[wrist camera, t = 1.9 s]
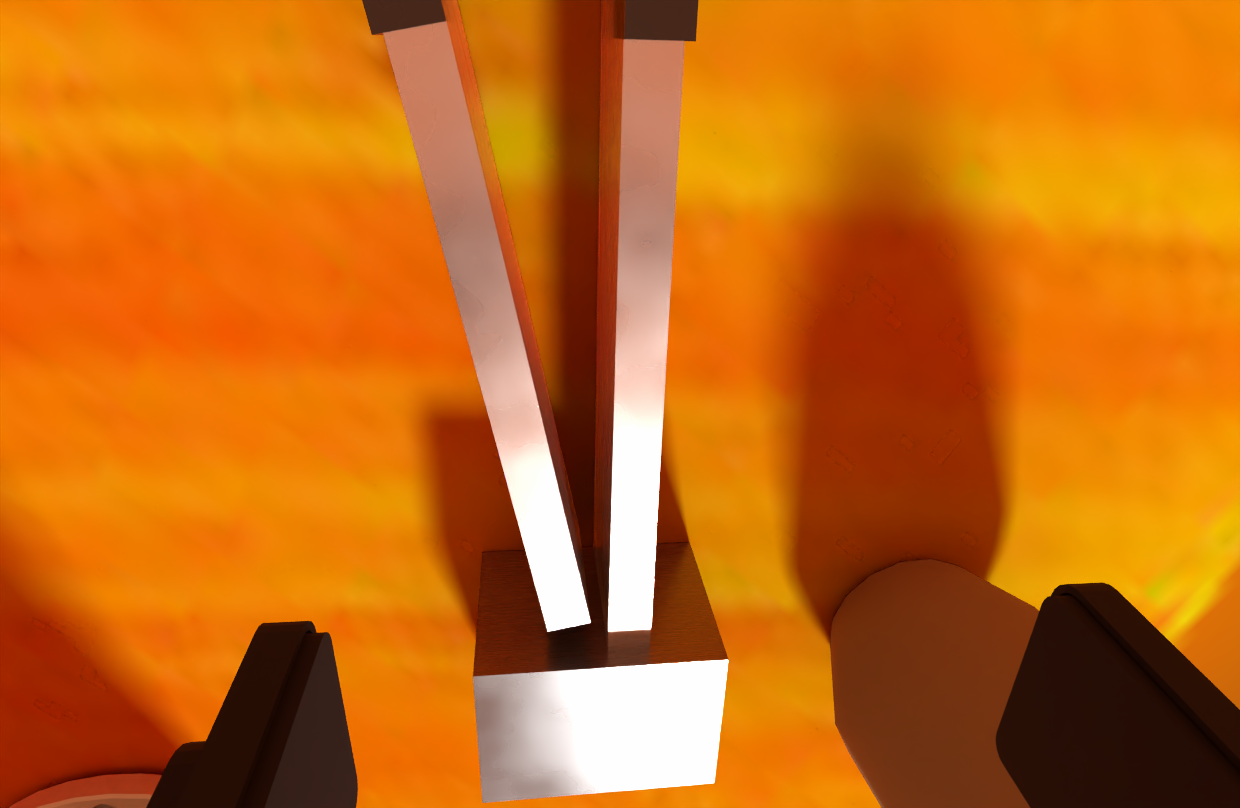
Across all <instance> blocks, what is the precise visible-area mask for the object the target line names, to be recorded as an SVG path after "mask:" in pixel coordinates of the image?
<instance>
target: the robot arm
mask: <svg viewBox="0 0 1240 808" xmlns="http://www.w3.org/2000/svg"><path fill="white" fill-rule="evenodd" d="M996 748H997V752H998V755H999V758H1000V760H1001V762H1002V764H1003V765H1004V767H1005V769H1006V770H1007V772H1008V773H1009V775H1010V776H1011V778H1012V780H1013V781H1014V783H1015V784H1016V786H1017V787H1018V789H1019V791H1020V792H1021V794H1022V795H1023V797H1024V799H1025V800H1026V802H1027V803H1028V805H1029V806H1030V808H1240V710H1239V709H1238V708H1237V707H1236V706H1235V705H1234V704H1233V703H1232V702H1231V701H1230V700H1229V699H1228V698H1227V697H1226V696H1225V695H1224V694H1223V693H1222V692H1221V691H1220V690H1219V689H1218V688H1217V687H1215V685H1214V684H1213V683H1212V682H1211V681H1210V680H1208V678H1207V677H1205V676H1204V675H1203V674H1202V673H1201V672H1200V671H1199V670H1198V669H1197V668H1196V667H1195V666H1194V665H1193V664H1192V663H1191V662H1190V661H1189V660H1188V659H1187V658H1186V657H1185V656H1184V655H1183V654H1182V653H1181V652H1180V651H1179V650H1178V649H1177V648H1176V647H1175V646H1174V645H1173V644H1172V643H1171V642H1170V641H1169V640H1168V639H1166V638H1165V637H1164V636H1163V635H1162V634H1161V633H1160V632H1159V631H1158V630H1157V629H1156V628H1155V627H1154V626H1153V625H1152V624H1151V623H1150V622H1149V621H1148V620H1147V619H1146V618H1145V617H1144V616H1143V615H1142V614H1141V613H1140V612H1139V611H1138V610H1137V609H1136V608H1135V607H1134V606H1133V605H1132V604H1131V603H1130V602H1129V601H1128V600H1126V599H1125V598H1124V597H1123V596H1122V595H1121V594H1120V593H1119V592H1118V591H1117V590H1116V589H1115V588H1113V587H1112V586H1111V585H1109V584H1105V583H1085V584H1065V585H1059V586H1058V587H1057V588H1056V589H1054V591H1053V593H1052V595H1051V596H1049V597H1047V598H1046V599H1045V600H1044V601H1043V603H1042V605H1041V608H1040V611H1039V614H1038V617H1037V619H1036V622H1035V625H1034V628H1033V631H1032V634H1031V636H1030V639H1029V642H1028V645H1027V648H1026V650H1025V653H1024V656H1023V659H1022V662H1021V665H1020V667H1019V670H1018V673H1017V676H1016V679H1015V682H1014V684H1013V687H1012V690H1011V693H1010V696H1009V698H1008V701H1007V704H1006V707H1005V710H1004V713H1003V715H1002V718H1001V721H1000V724H999V727H998V729H997V733H996ZM357 791H358V784H357V775H356V769H355V764H354V758H353V753H352V748H351V742H350V737H349V732H348V726H347V721H346V715H345V710H344V705H343V699H342V694H341V688H340V683H339V678H338V672H337V667H336V661H335V656H334V651H333V645H332V640H331V637H330V634H329V633H327V632H324V633H316V629H315V626H314V624H313V623H312V622H311V621H299V622H279V623H263V624H261V625H260V626H259V627H258V629H257V630H256V632H255V634H254V636H253V638H252V641H251V643H250V645H249V647H248V650H247V652H246V654H245V656H244V658H243V661H242V663H241V665H240V667H239V669H238V672H237V674H236V676H235V678H234V681H233V683H232V685H231V687H230V689H229V692H228V694H227V696H226V698H225V700H224V703H223V705H222V707H221V709H220V711H219V714H218V716H217V718H216V720H215V723H214V725H213V727H212V729H211V731H210V734H209V736H208V738H207V740H206V741H201V742H190V743H185V744H183V745H182V746H181V747H180V748H178V749H177V750H176V751H175V753H174V754H173V756H172V758H171V759H170V761H169V762H168V764H167V766H166V768H165V770H164V772H163V774H162V775H157V774H144V773H134V774H112V775H101V776H95V777H90V778H84V779H78V780H73V781H68V782H65V783H62V784H59V785H56V786H53V787H50V788H47V789H44V790H41V791H38V792H36V793H34V794H32V795H30V796H28V797H26V798H24V799H22V800H21V801H19V802H17V803H15V804H13V805H11V806H10V807H9V808H356V803H357Z"/></svg>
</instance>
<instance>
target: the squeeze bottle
mask: <svg viewBox="0 0 1240 808" xmlns="http://www.w3.org/2000/svg"><path fill="white" fill-rule="evenodd" d="M1038 614H1039V611H1038V610H1037V609H1036V608H1035V607H1033V606H1032V605H1030V604H1028V603H1026V602H1024V601H1022V600H1020V599H1018V598H1017V597H1015V596H1013V595H1011V594H1009V593H1007V592H1005V591H1004V590H1002V589H1000V588H998V587H996V586H994V585H992V584H991V583H989V582H987V581H985V580H983V579H981V578H979V577H978V576H976V575H974V574H972V573H970V572H968V571H966V570H965V569H963V568H961V567H959V566H957V565H953V564H949V563H945V562H941V561H938V560H934V559H925V560H916V561H906V562H900V563H897V564H895V565H893V566H890V567H888V568H886V569H883V570H881V571H879V572H876V573H874V574H872V575H870V576H869V577H868V578H867V579H865V580H864V581H863V582H862V583H861V584H859V585H858V586H857V587H856V588H855V589H854V590H852V591H851V592H850V593H849V594H848V595H847V596H846V597H845V599H844V601H843V602H842V604H841V606H840V607H839V609H838V611H837V613H836V614H835V616H834V618H833V620H832V629H831V639H830V650H831V665H832V680H833V696H834V711H835V724H836V726H837V728H838V730H839V733H840V735H841V737H842V739H843V741H844V743H845V745H846V747H847V749H848V752H849V753H850V755H851V757H852V758H853V760H854V762H855V763H856V765H857V767H858V768H859V770H860V772H861V774H862V775H863V777H864V779H865V780H866V782H867V784H868V785H869V787H870V789H871V790H872V792H873V794H874V795H875V797H876V799H877V801H878V802H879V804H880V806H881V807H882V808H1030V806H1029V805H1028V803H1027V802H1026V800H1025V799H1024V797H1023V795H1022V794H1021V792H1020V791H1019V789H1018V787H1017V786H1016V784H1015V783H1014V781H1013V780H1012V778H1011V776H1010V775H1009V773H1008V772H1007V770H1006V769H1005V767H1004V765H1003V764H1002V762H1001V760H1000V758H999V755H998V752H997V748H996V733H997V729H998V727H999V724H1000V721H1001V718H1002V715H1003V713H1004V710H1005V707H1006V704H1007V701H1008V698H1009V696H1010V693H1011V690H1012V687H1013V684H1014V682H1015V679H1016V676H1017V673H1018V670H1019V667H1020V665H1021V662H1022V659H1023V656H1024V653H1025V650H1026V648H1027V645H1028V642H1029V639H1030V636H1031V634H1032V631H1033V628H1034V625H1035V622H1036V619H1037V617H1038Z"/></svg>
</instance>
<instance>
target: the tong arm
mask: <svg viewBox="0 0 1240 808" xmlns="http://www.w3.org/2000/svg"><path fill="white" fill-rule="evenodd" d="M362 1H363V5H364V8H365V12H366V15H367V19H368V22H369V26H370V29H371V33H372V35H384V38H385V42H386V45H387V49H388V53H389V56H390V60H391V64H392V67H393V71H394V74H395V78H396V82H397V85H398V89H399V93H400V96H401V100H402V104H403V107H404V111H405V114H406V118H407V122H408V125H409V129H410V133H411V136H412V140H413V143H414V147H415V151H416V154H417V158H418V162H419V165H420V169H421V173H422V176H423V180H424V183H425V187H426V191H427V194H428V198H429V202H430V205H431V209H432V213H433V216H434V220H435V223H436V227H437V231H438V234H439V238H440V242H441V245H442V249H443V253H444V256H445V260H446V263H447V267H448V271H449V274H450V278H451V282H452V285H453V289H454V292H455V296H456V300H457V303H458V307H459V311H460V314H461V318H462V322H463V325H464V329H465V332H466V336H467V340H468V343H469V347H470V351H471V354H472V358H473V362H474V365H475V369H476V372H477V376H478V380H479V383H480V387H481V391H482V394H483V398H484V402H485V405H486V409H487V412H488V416H489V420H490V423H491V427H492V431H493V434H494V438H495V442H496V445H497V449H498V452H499V456H500V460H501V463H502V467H503V471H504V474H505V478H506V481H507V485H508V489H509V492H510V496H511V500H512V503H513V507H514V511H515V514H516V518H517V521H518V525H519V529H520V532H521V536H522V540H523V543H524V547H525V551H526V554H527V558H528V561H529V565H530V569H531V572H532V576H533V580H534V583H535V587H536V591H537V594H538V598H539V601H540V605H541V609H542V612H543V616H544V620H545V623H546V627H547V630H548V632H549V631H554V630H559V629H563V628H568V627H573V626H578V625H582V624H587V623H591V621H590V613H589V604H588V596H587V587H586V579H585V570H584V562H583V553H582V545H581V536H580V528H579V524H578V519H577V515H576V511H575V506H574V502H573V498H572V493H571V489H570V485H569V480H568V476H567V472H566V467H565V463H564V459H563V454H562V450H561V446H560V442H559V437H558V433H557V429H556V424H555V420H554V416H553V411H552V407H551V403H550V398H549V394H548V390H547V385H546V381H545V377H544V372H543V368H542V364H541V359H540V355H539V351H538V347H537V342H536V338H535V334H534V329H533V325H532V321H531V316H530V312H529V308H528V303H527V299H526V295H525V290H524V286H523V282H522V277H521V273H520V269H519V264H518V260H517V256H516V252H515V247H514V243H513V239H512V234H511V230H510V226H509V221H508V217H507V213H506V208H505V204H504V200H503V195H502V191H501V187H500V182H499V178H498V174H497V169H496V165H495V161H494V156H493V152H492V148H491V144H490V139H489V135H488V131H487V126H486V122H485V118H484V113H483V109H482V105H481V100H480V96H479V92H478V87H477V83H476V79H475V74H474V70H473V66H472V61H471V57H470V53H469V49H468V44H467V40H466V36H465V31H464V27H463V22H462V18H461V13H460V9H459V5H458V0H362Z"/></svg>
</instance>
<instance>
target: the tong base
mask: <svg viewBox="0 0 1240 808" xmlns="http://www.w3.org/2000/svg"><path fill="white" fill-rule="evenodd" d="M697 12H698V0H601V55H600V126H599V196H598V267H597V337H596V408H595V478H594V547H582V553H583V562H584V570H585V579H586V587H587V596H588V604H589V613H590V621H591V623H587V624H582V625H578V626H573V627H568V628H563V629H559V630H554V631H549V632H548V630H547V627H546V623H545V620H544V616H543V612H542V609H541V605H540V601H539V598H538V594H537V591H536V587H535V583H534V580H533V576H532V572H531V569H530V565H529V561H528V558H527V554H526V551H525V550H518V551H497V552H482V565H481V579H480V592H479V605H478V618H477V631H476V645H475V658H474V671H473V682H474V695H475V709H476V722H477V735H478V748H479V762H480V775H481V788H482V801H483V803H486V802H497V801H509V800H521V799H533V798H544V797H556V796H568V795H580V794H591V793H603V792H615V791H627V790H638V789H650V788H662V787H674V786H685V785H697V784H709V783H714V779H715V770H716V762H717V753H718V745H719V736H720V727H721V719H722V710H723V702H724V693H725V684H726V676H727V667H728V657H727V654H726V651H725V648H724V645H723V642H722V639H721V636H720V633H719V630H718V627H717V624H716V621H715V618H714V615H713V612H712V609H711V606H710V603H709V600H708V597H707V594H706V591H705V588H704V585H703V582H702V579H701V576H700V572H699V569H698V566H697V563H696V560H695V557H694V554H693V551H692V548H691V545H690V542H685V543H664V544H656V533H657V515H658V498H659V480H660V463H661V445H662V428H663V410H664V392H665V375H666V357H667V340H668V322H669V305H670V287H671V270H672V252H673V235H674V217H675V200H676V182H677V165H678V147H679V130H680V112H681V95H682V77H683V59H684V42H685V41H696V27H697Z"/></svg>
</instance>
